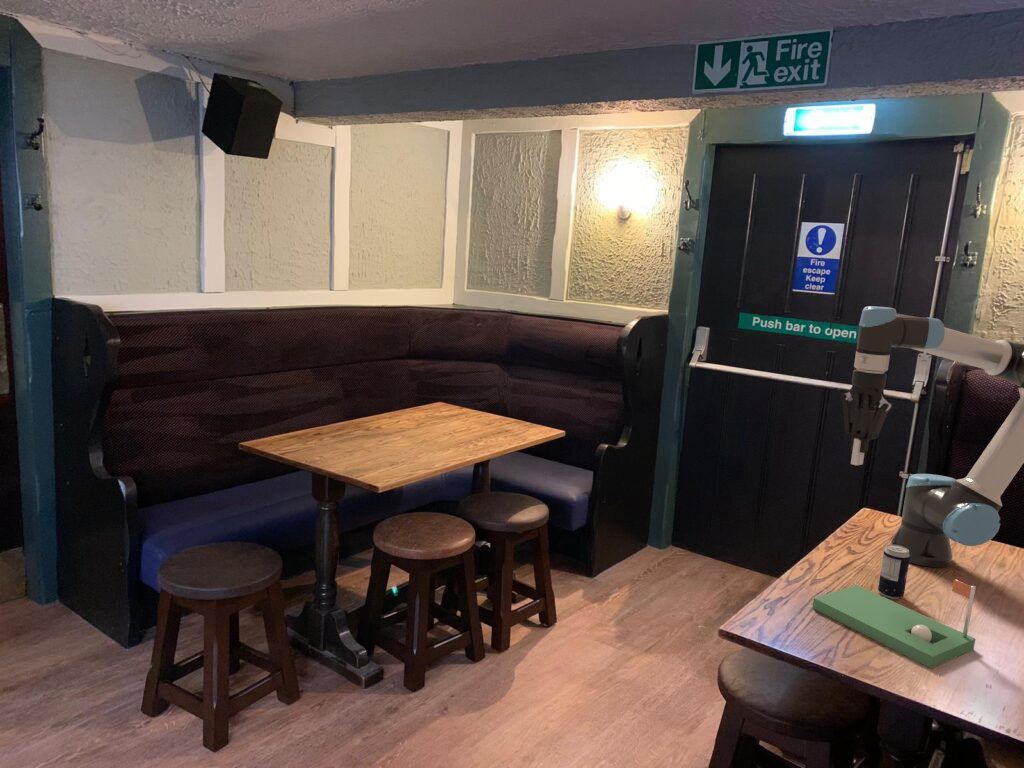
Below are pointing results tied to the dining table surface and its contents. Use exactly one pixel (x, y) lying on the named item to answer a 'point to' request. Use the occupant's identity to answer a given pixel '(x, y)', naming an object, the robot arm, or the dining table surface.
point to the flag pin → (969, 593)
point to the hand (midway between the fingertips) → (856, 464)
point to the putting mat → (893, 625)
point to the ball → (922, 632)
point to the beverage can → (894, 571)
